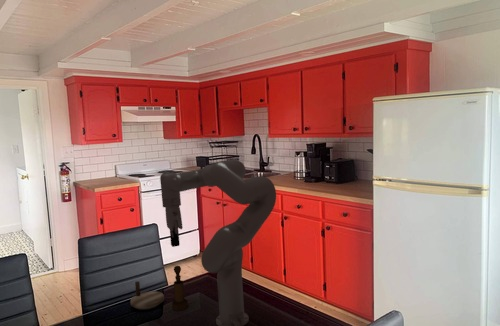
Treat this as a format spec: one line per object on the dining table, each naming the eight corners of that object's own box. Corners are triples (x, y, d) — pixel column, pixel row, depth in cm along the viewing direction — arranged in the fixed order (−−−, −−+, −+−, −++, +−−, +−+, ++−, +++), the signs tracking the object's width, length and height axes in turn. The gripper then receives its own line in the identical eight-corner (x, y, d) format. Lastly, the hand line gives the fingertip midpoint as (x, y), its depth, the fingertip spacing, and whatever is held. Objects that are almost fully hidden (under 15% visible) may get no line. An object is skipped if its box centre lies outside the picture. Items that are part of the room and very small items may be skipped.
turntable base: (161, 306, 165) (161, 303, 165) (137, 312, 161) (137, 309, 161) (157, 298, 174) (157, 295, 174) (134, 303, 170) (134, 300, 170)
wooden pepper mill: (184, 311, 160) (181, 268, 158) (170, 310, 161) (166, 268, 160) (190, 304, 166) (187, 263, 165) (176, 303, 167) (173, 263, 166)
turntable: (170, 298, 169) (169, 281, 169) (145, 311, 158) (144, 293, 158) (149, 292, 177) (148, 276, 177) (123, 304, 166) (122, 287, 166)
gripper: (184, 203, 155) (188, 248, 156) (176, 199, 169) (180, 240, 170) (166, 206, 152) (170, 251, 153) (159, 201, 166) (163, 243, 167)
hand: (175, 245), depth 162 cm, fingers closed
